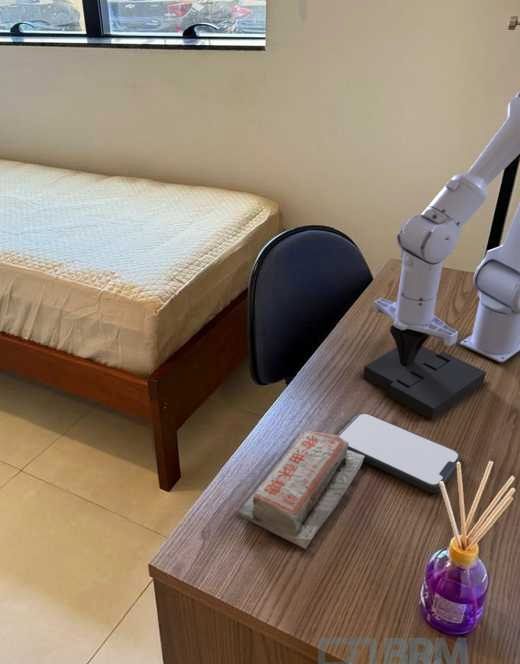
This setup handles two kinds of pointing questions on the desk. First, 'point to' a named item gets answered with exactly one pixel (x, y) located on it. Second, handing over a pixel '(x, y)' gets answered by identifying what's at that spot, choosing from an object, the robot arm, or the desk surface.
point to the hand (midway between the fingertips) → (406, 362)
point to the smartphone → (401, 452)
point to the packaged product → (303, 487)
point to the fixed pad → (438, 386)
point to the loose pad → (400, 368)
